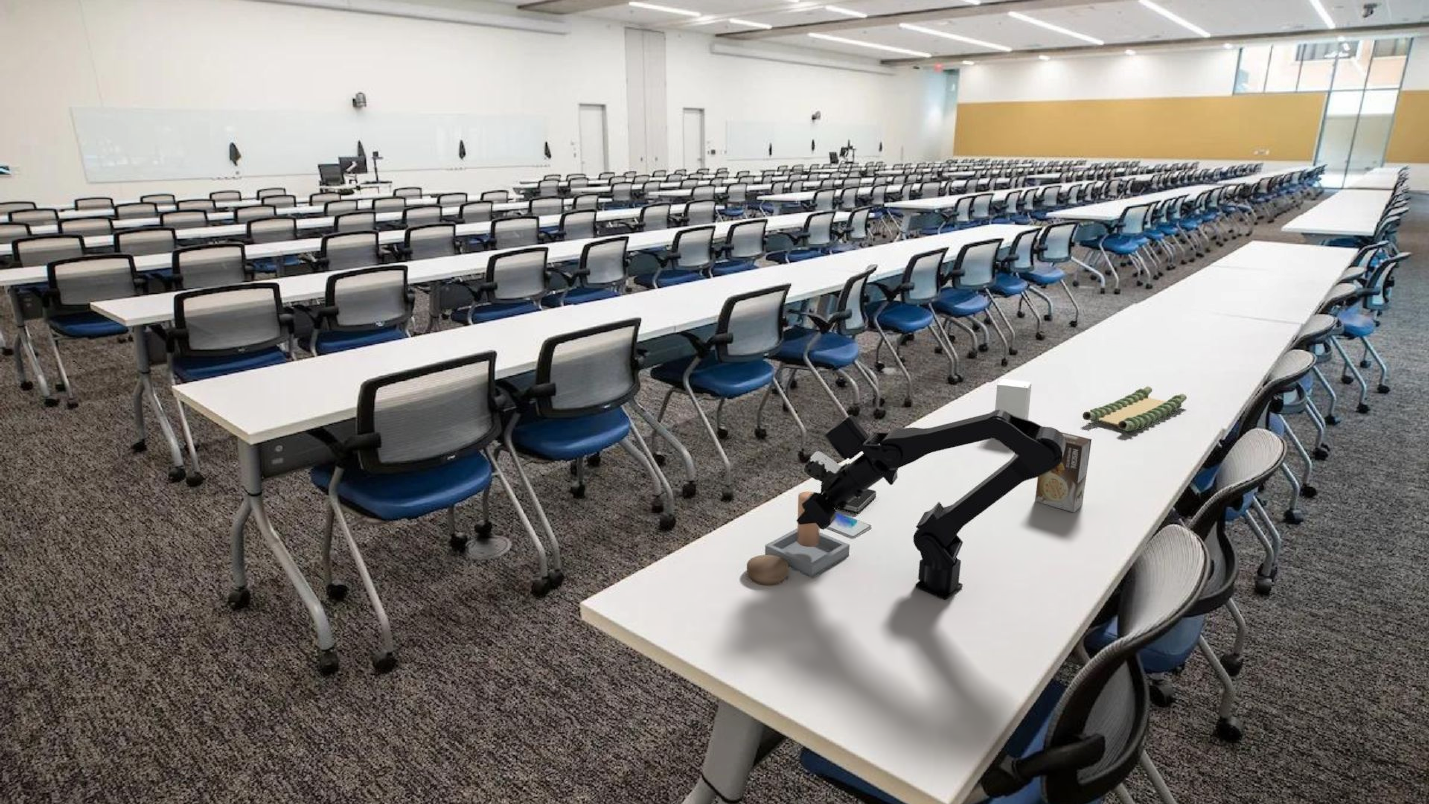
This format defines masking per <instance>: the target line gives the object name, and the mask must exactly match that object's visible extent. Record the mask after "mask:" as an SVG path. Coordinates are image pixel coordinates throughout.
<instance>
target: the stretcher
mask: <svg viewBox="0 0 1429 804" xmlns="http://www.w3.org/2000/svg"><path fill="white" fill-rule="evenodd" d="M1152 392H1153V388H1152V387H1151V386H1149V385H1148V386H1146V387H1144V388H1139V389H1137V390H1135V391H1134V392H1133V393H1131V394H1128V395H1126V396H1124V398H1119V399H1118V400H1115V401H1113V402H1110V403H1108V404H1104V405H1103V406H1098V407H1094V408H1092V409H1090V411H1085V412H1083V414H1082V419H1083V420H1085V421H1090V422H1091V423H1096V422H1098V421H1099V422H1102V423H1106V424H1111V425H1114V426H1117V427H1118V429H1120V430H1122V431H1123V430H1124V431H1125V432H1130V431H1137V430H1140V429H1143V428H1144V427H1148V426H1149V425H1152V424H1154V423H1155V422H1158V421H1161V419H1165V418H1166V417H1167V416H1169V415H1171V414H1172V413H1175V412H1176V411H1177V410H1178V409H1180V408H1182V404H1183V403H1184V402H1185V401H1186V400H1187V395H1186V394H1184V393H1180V394H1176V395H1173V396H1172V397H1171V398H1169V399H1168V400H1167V401H1165V400H1161V399H1157V398H1153V397H1149V395H1150V394H1151V393H1152Z"/></svg>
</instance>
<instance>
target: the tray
mask: <svg viewBox="0 0 1429 804" xmlns="http://www.w3.org/2000/svg"><path fill="white" fill-rule="evenodd" d="M764 546H765V547H764V548H765V549H764V555H773V556H778V557H780V558H782V559H784V560H785V561H786V562H787V563H788V568H790V569H792V570H794V571H796V572H799V573H800V574H803V575H805V576H806V577H809V578H811V579H813V578H815V577H817V576H818V575H820V574H821V573H823V572H824V571H826V570H828V569H830V568H832V567H834V565H836V564H838V563H839V562H841V561H842V560H844V559H847V558H848V557H850V546H851V544H849V543H846V542H844V541H842V540H840V539H837V538H834V537H832V536H830V535H827V534H825V533H823V532H819V544H818V545H816V546H813V547H805V546H801V545H799V544H798V543H797V528H795V529H794V530H791V531H789V532H787V533H785V534H784V535H781V536H780V537H778V538H776V539H774V540H772V541H770V542H768V543H766V544H765V545H764Z"/></svg>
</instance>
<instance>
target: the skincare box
mask: <svg viewBox="0 0 1429 804" xmlns="http://www.w3.org/2000/svg"><path fill="white" fill-rule="evenodd" d="M1031 395H1032V382H1031V381H1022V380H1014V379H1007V378H1002V379H1001V380H1000V381H999V382H998V383H997V384H996V395H995V406H994V411H995V410H1003V411H1006V412H1008V413H1010V414H1012V415H1014V416H1016V417H1020V418H1023V419H1026V420H1029V416H1030V415H1029V414H1030V413H1029V412H1030V403H1031Z"/></svg>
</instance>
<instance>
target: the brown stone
mask: <svg viewBox="0 0 1429 804" xmlns="http://www.w3.org/2000/svg"><path fill="white" fill-rule="evenodd" d="M746 577H747V579H748V580H750V581H751V582H752V583H754V584H758V585H761V586H776V585H780V584H782V583H784V582H785V581H786V580H788V577H789V567H788V563H787V562H786V561H785V560H784V559H782V558H780V557H778V556H773V555H765V554H762V555H761V554H760V555H756V556H753V557H751V558H750V559H749V560H748V561H747V562H746Z"/></svg>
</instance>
